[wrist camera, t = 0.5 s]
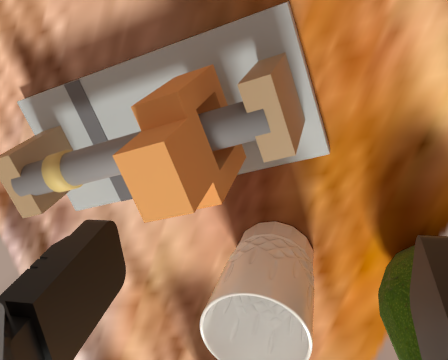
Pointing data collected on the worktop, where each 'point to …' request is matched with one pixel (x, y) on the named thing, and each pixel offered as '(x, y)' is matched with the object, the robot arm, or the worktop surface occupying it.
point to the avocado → (399, 305)
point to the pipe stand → (150, 81)
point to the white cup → (263, 298)
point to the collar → (178, 149)
